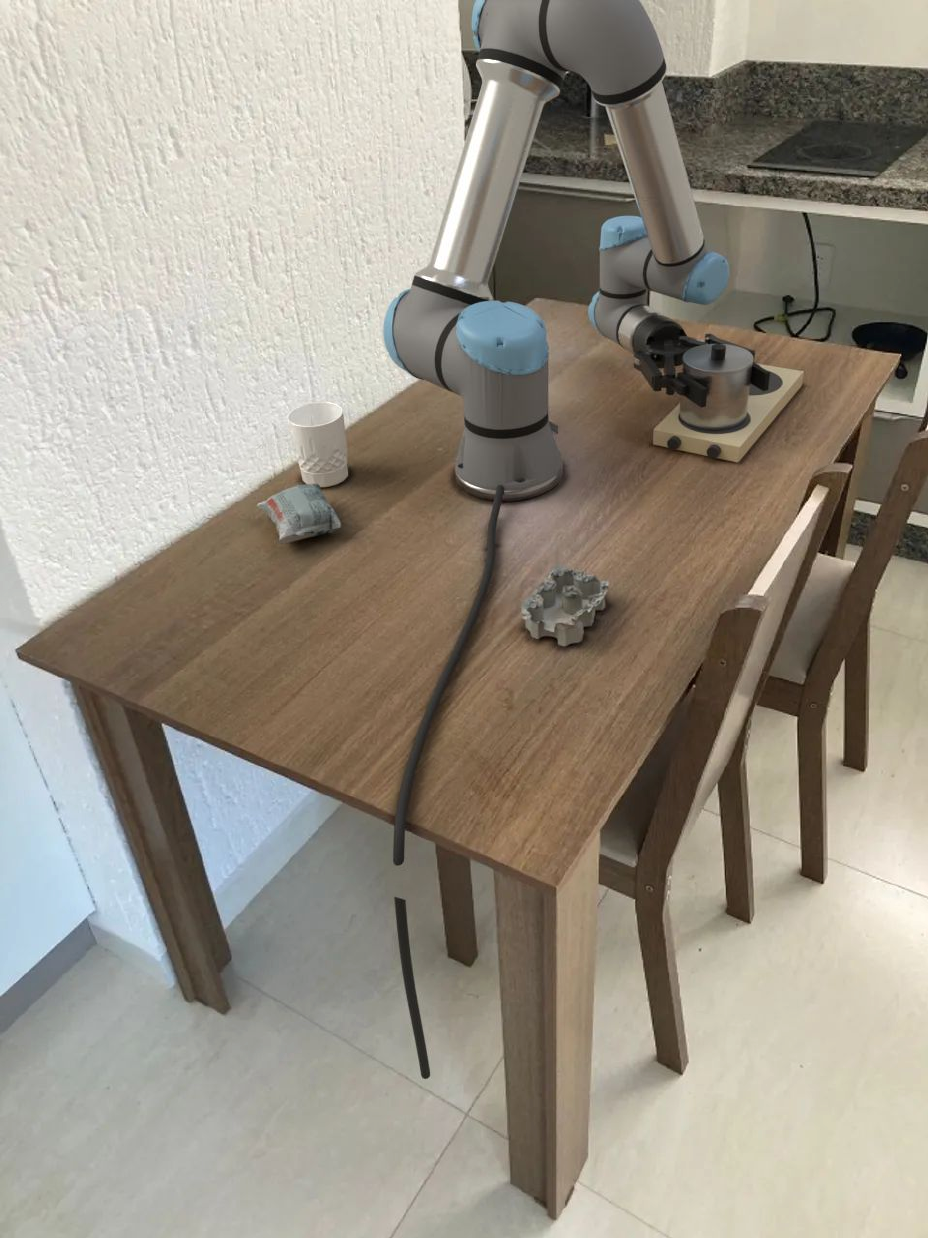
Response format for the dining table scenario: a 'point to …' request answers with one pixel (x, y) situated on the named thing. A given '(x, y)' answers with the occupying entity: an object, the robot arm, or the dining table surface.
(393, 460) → the dining table surface
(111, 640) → the dining table surface
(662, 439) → the hot plate
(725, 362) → the pot
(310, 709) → the dining table surface
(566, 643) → the egg carton
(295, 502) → the packaged food
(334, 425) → the white cup
